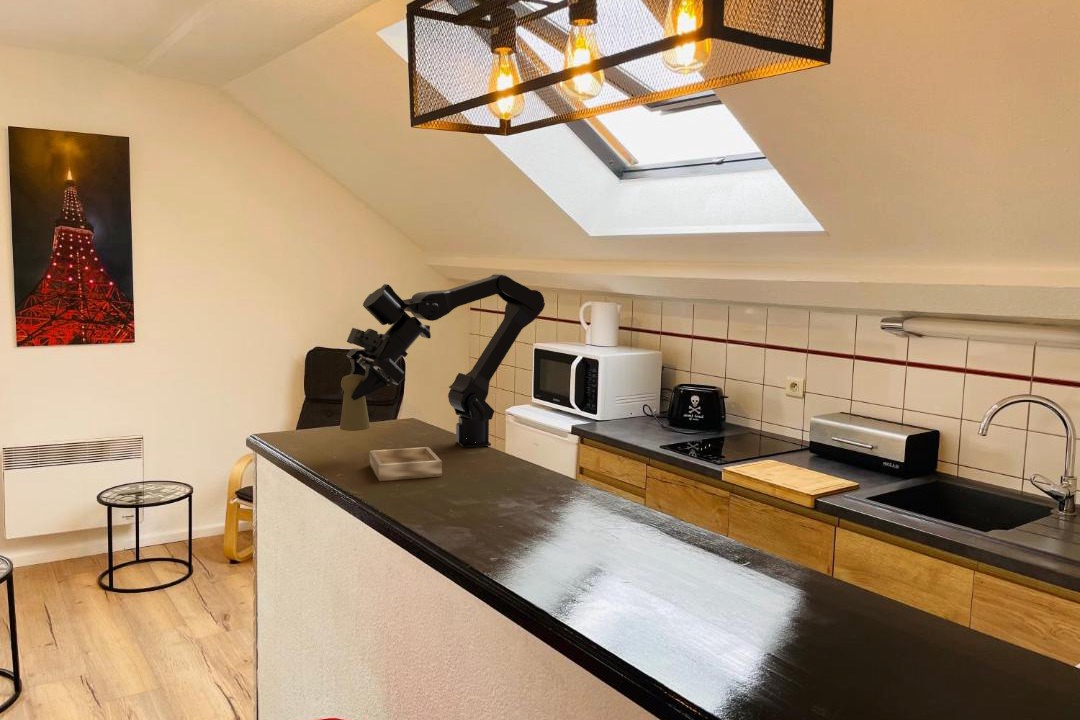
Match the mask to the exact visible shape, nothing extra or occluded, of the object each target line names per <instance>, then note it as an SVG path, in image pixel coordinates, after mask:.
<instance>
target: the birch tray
mask: <svg viewBox="0 0 1080 720" xmlns="http://www.w3.org/2000/svg"><path fill="white" fill-rule="evenodd" d="M369 466H370V468H371V469H372V471H373V473H374V474H375V475H374V476H376V478H377V479H378V481H379V482H384V481H397V480H409V479H412V480H413V479H423V478H435V477H436V478H437V477H442V476H443V461H442V459H440V457H439V456H438V455H436V453H435V452H434V451H433V450H432V449H431V448H430V447H429V446H423V447H408V448H407V447H406V448H392V449H379V450H378V449H377V450H375V449H374V450H369Z"/></svg>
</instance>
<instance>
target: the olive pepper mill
mask: <svg viewBox="0 0 1080 720" xmlns="http://www.w3.org/2000/svg"><path fill="white" fill-rule="evenodd" d="M363 377H364V376H362V375H357V374H352V375H350V374H348V375H344V376H343V377H342V379H341V381H340V387H341V389H342V391H343V390H344V395H342V396H343V397H342V405H341V406H342V407H341V415H340V416H341V417H340V422H339V423H340V425H339V429H340V430H342V431H347V432H357V431H358V432H359V431H365V430H368V429H370V427H371V426H370V419H369V413H368V412H369V411H368V406H367V401H366V395H365V396H363V397H361V398H359V399H357V400H353V399H352V398H351V395H352V394H353V392H354V390H355V389H356V387H357V386H358V385H359V383H360V382H361V380H362V379H363Z"/></svg>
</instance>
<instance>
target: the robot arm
mask: <svg viewBox="0 0 1080 720" xmlns="http://www.w3.org/2000/svg"><path fill="white" fill-rule="evenodd" d="M495 295H497V296H499V298H501V300H502V301H504V302H505V303H506V305H505V309H504V317H503V320H502V321H501V323H500V324H499V326H498V327H497V329H496V331H495V332H494V334H493V335H492V337H491V338H490V340H489V342H488V343H487V345H486V346H485V348H484V350H483V352H482V353H481V354H480V356H479V358H478V359H477V361H476V362H475V364H474V366H473V367H472V368H471V370H469V372H467V373H462V372H458V374H457V375H456V377H455V379H454V380H453V382H452V384H451V385H449V386H448V388H449V389H450V390H449V392H448V395H447V398H448V403H449V405H450V406H451V407H452V408H453V409H454V412H455V415H457V416H458V422H457V423H456V424H455V425H456V427H455V432H456V433H455V441H456V443H458V445H460V446H461V447H462V448H476V447H491V446H492V443H491V442H490V441H489V439H490V437H489V435H490V433H489V432H490V431H489V430H490V420H492V419H493V416H494V414H495V410H494V408H493V407H492V406H490V404H488V403H487V401H486V400H487V398H488V395H489V391H490V390H489V389H490V382H491V380H492V378H493V377H494V376H495V374H496V372H497V370H498V369H499V367H500V365H501V364H502V362H503V361H504V359H505V358H506V356H507V354H508V353H509V351H510V350H511V348H512V346H513V344H514V343H515V341H516V340H517V338H518V336H519V335H520V333H521V332H522V330H523V329H524V328H525V327H527V326H528V325H530V324H531V323H532V322H534V321H535V320H536V319H537V317H539V316H540V314H542V312H543V310H544V309H545V306H546V302H545V297H544V295H543V294H542V293H541V292H540V290H536V289H530V288H529V287H527V286H525V285H523V284H521V283H519V282H517V281H515V280H514V279H513V278H511V277H509V276H508V275H506V274H500V273H499V274H497V273H495V274H492V275H490V276H488V277H486V278H481V279H478V280H476V281H471V282H468V283H466V284H465V283H464V284H463V285H458V286H456V287H452V288H449V289H444V290H443V289H442V290H430V291H420V292H416V293H415V294H413V295H412V296H411V297H410V298H406V299H402V298H401V297H400V296H399V295H398V294H397V293H396V292H395V290H394V289H393V287H392V286H391V285H390V284H387V283H384V284H383V285H382V286H381V287H379V288H377V289H375V291H373V292H372V293H370V294H368V296H367V297H366V298H365V300H363V303H362V306H363V308H364V309H365V310H366V311H367V312H369V314H371V316H372V317H373V318H374V319H376V321H378V323H379V324H380V325H382V326H386V325H389V326H390V327H389V328H388V329H387V330H386V332H385V333H379V332H378V331H377V330H375V329H372V328H367V329H366V330H365V331H364V330H361V329H358V328H356V327H352V328H351V330H350V333H349V334H348V337H347V340H346V342H347V343H348V344H350V345H351V344H352V345H356V346H357V348H355V347H354V348H351V349H350V350H349V351H348V353H347V354H346V357H347V358H348V359H349V360H350V363H351V371H350V374H349V375H352V374H357V375H362V376H364V377H363V379H362V380H361V382H360V383H359V385H358V386H357V387H356V389H355V390H354V392H353V394H352V395H351V398H352V399H353V400H357V399H359V398H361V397H363V396H365V397H366V396H367V395H369V394H371V393H374V392H375V391H378V390H380V389H383V388H385V387H387V386H391V383H392V384H394V385H396V386H399V385H400V384H401V383H402V382H403V381H404V380H405V371H403V369H401V367H399V365H397V362H398V361H399V360H400V358H406V357H407V356H408V355H409V353H407V350H409V348H410V347H411V346H412V345H413V344H414V342H415V341H417V339H418V338H419V337H422V338H425V339H428V340H429V339H431V337H432V336H431V326H430V325H427V324H423V323H422V322H421V321H420V320H425V321H430V322H431V321H432V322H434V321H437V320H440V319H441V318H443V317H445V316H447V315H448V314H450V313H451V312H452V311H453V310H454V309H457V308H458V307H461V306H464V305H467V304H471V303H474V302H476V301H480V300H483V299H487V298H489V297H491V296H495ZM407 312H409V313H411V315H412V316H410V315H409V314H408V313H407ZM419 319H420V320H419ZM358 347H361V348H363V349H361V348H358ZM390 380H391V383H390V382H389V381H390ZM341 394H342V396H344V390H343V389H342V391H341ZM466 438H467V439H466ZM475 442H476V443H475Z"/></svg>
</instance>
